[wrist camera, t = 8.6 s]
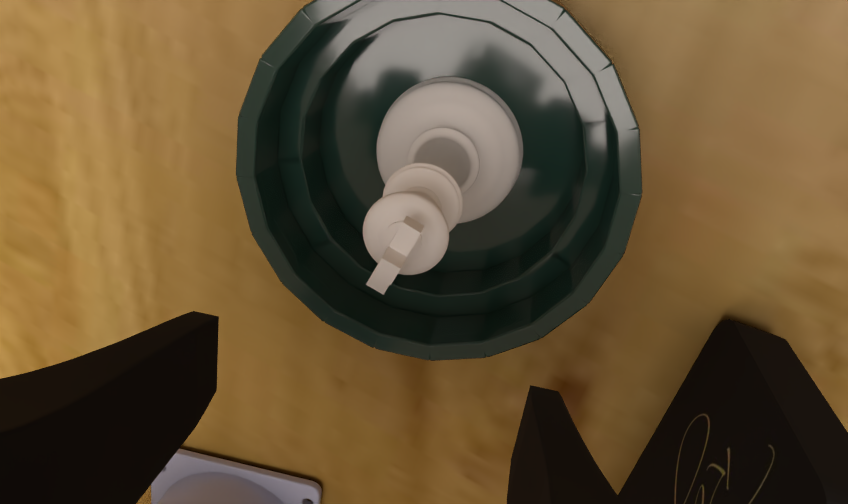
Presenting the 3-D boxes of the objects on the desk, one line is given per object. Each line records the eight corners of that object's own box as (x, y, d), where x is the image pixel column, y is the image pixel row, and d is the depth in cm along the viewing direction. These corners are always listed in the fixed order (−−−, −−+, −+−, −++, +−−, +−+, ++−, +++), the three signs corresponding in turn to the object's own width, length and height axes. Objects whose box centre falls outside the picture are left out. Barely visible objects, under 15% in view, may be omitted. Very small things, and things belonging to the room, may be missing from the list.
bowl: (575, 326, 25) (581, 395, 21) (279, 263, 26) (229, 317, 22) (668, -1, 20) (700, 5, 16) (302, -62, 21) (244, -72, 17)
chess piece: (354, 173, 23) (234, 301, 14) (421, 47, 21) (331, 102, 12) (474, 244, 24) (432, 414, 15) (552, 126, 22) (559, 237, 13)
